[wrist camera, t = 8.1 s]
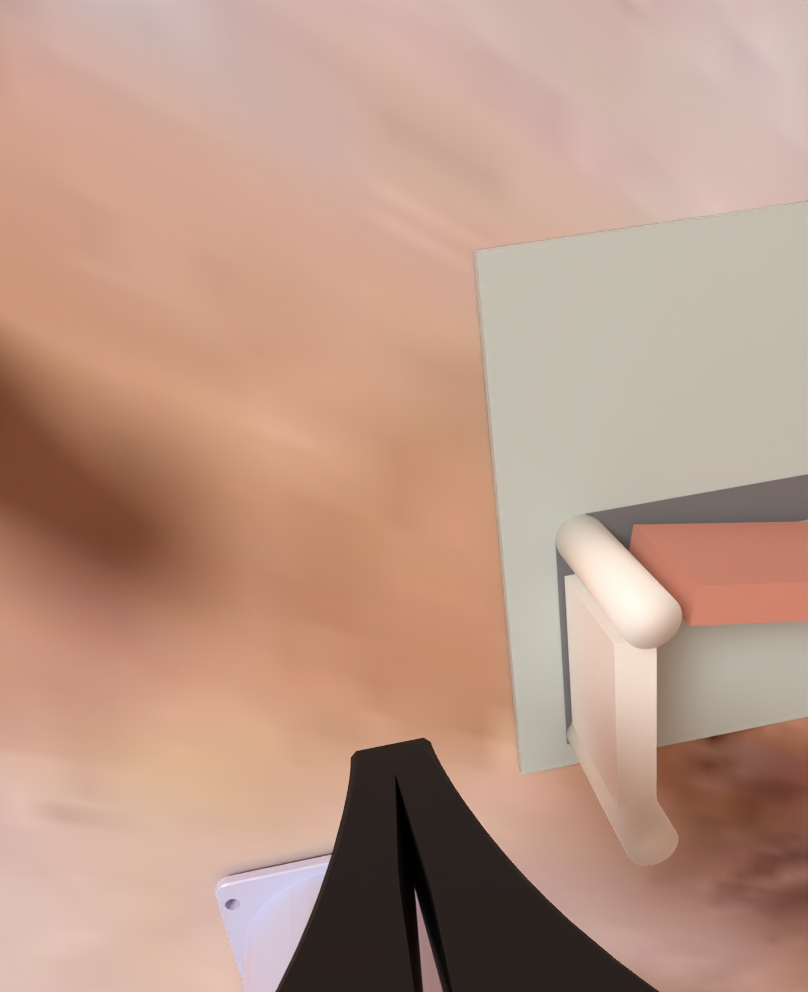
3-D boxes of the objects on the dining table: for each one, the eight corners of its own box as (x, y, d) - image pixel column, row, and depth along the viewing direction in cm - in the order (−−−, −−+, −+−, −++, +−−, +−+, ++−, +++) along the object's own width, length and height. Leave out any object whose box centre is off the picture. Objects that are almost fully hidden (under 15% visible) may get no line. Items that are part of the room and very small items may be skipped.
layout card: (903, 689, 28) (912, 696, 28) (519, 767, 27) (522, 775, 27) (983, 175, 21) (996, 174, 21) (473, 250, 20) (477, 251, 20)
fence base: (606, 736, 27) (678, 859, 22) (563, 745, 27) (626, 871, 22) (599, 505, 24) (682, 588, 18) (549, 514, 23) (620, 600, 18)
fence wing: (626, 565, 24) (703, 649, 19) (634, 518, 23) (715, 593, 18) (849, 559, 25) (971, 637, 20) (862, 514, 24) (991, 584, 20)
